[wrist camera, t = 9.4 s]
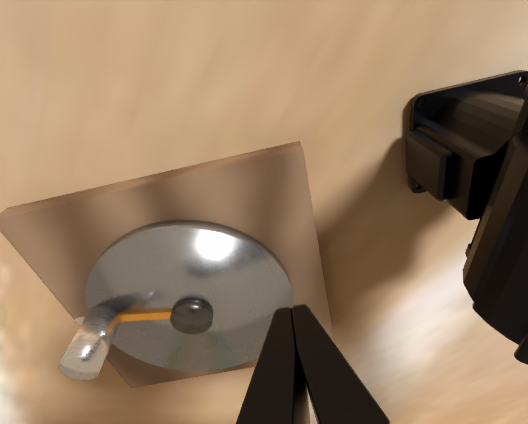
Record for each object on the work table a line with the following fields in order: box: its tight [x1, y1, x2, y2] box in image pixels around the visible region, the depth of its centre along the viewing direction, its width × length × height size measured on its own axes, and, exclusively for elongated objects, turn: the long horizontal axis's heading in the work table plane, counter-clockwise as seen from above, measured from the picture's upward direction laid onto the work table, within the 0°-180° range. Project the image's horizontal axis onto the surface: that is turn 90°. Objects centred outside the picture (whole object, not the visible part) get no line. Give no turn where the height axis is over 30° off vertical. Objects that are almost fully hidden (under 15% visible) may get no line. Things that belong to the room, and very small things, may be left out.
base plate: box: [0, 141, 335, 388], centre depth 24 cm, size 20×20×2 cm
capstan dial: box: [58, 220, 294, 380], centre depth 22 cm, size 15×15×5 cm
